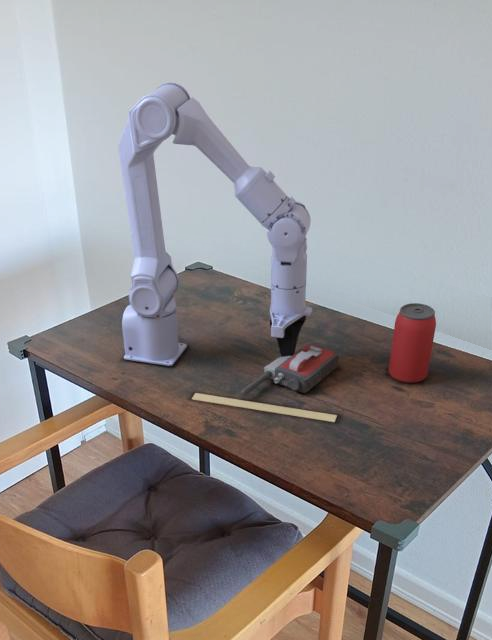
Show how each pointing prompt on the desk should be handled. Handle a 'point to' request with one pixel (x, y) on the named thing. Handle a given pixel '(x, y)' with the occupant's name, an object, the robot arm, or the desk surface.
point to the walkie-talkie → (300, 368)
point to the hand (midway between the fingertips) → (287, 356)
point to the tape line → (265, 407)
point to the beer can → (412, 343)
